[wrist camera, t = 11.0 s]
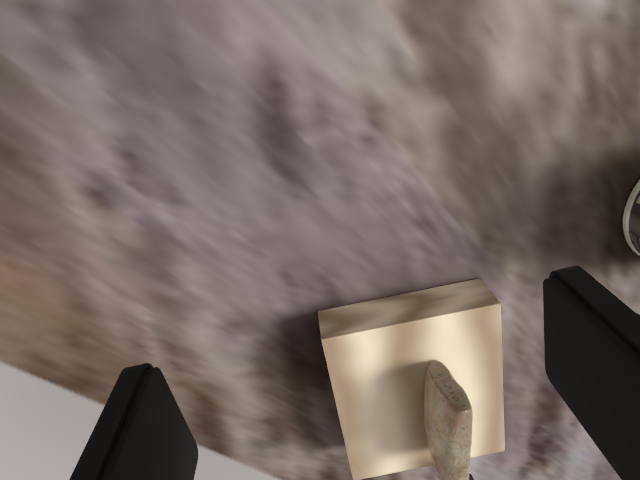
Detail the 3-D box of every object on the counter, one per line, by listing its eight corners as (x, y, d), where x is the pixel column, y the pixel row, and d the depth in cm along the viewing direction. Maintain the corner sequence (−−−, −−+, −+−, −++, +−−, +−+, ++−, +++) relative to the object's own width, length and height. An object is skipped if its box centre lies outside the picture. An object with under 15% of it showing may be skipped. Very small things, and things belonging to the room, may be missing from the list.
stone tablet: (488, 520, 37) (496, 406, 32) (441, 529, 37) (443, 415, 32) (459, 460, 42) (463, 354, 37) (419, 467, 42) (417, 361, 37)
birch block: (480, 278, 39) (500, 303, 36) (487, 417, 46) (504, 450, 42) (317, 311, 39) (321, 339, 36) (347, 445, 46) (353, 480, 42)
